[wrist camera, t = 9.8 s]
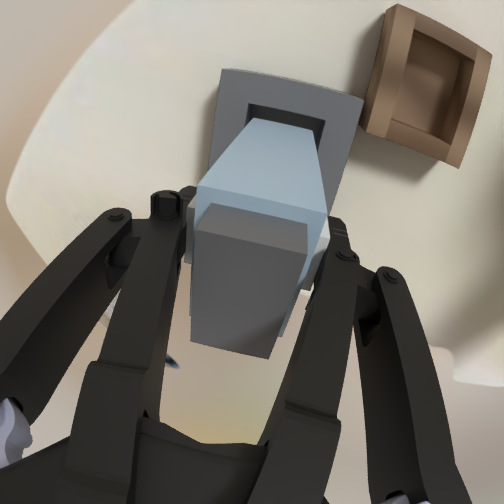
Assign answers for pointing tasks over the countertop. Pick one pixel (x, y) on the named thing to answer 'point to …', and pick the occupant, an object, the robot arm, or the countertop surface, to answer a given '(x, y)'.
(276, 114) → the port
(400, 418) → the robot arm
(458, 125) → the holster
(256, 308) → the plug
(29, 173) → the countertop surface
